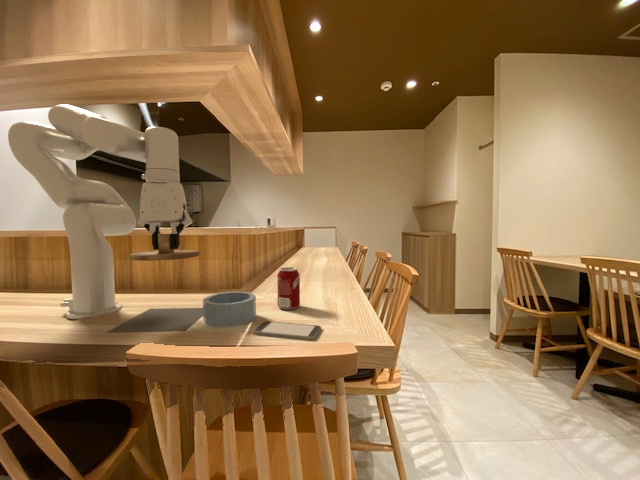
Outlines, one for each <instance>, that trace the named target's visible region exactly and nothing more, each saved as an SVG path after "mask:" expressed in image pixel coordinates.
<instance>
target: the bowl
mask: <svg viewBox="0 0 640 480" xmlns="http://www.w3.org/2000/svg"><path fill="white" fill-rule="evenodd" d="M256 296H257V295H256V294H254V293H252V292H247V291H224V292H218V293H214V294H210V295H207V296H205V297H204V298H203V299H202V308H203V316H202V318H203V323H205V325H207V326H211V327H215V328H217V327H218V328H220V327H223V328H224V327H226V328H227V327H234V326H235V327H236V326H240V325H244V324H246V323H247V324H248V323H249V324H251V323H253V322H255V320H256V318H257V300H256V299H257V297H256Z"/></svg>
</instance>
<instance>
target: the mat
mask: <svg viewBox="0 0 640 480" xmlns="http://www.w3.org/2000/svg"><path fill="white" fill-rule="evenodd" d="M201 318H203V307H173V308H171V307H170V308H164V307H163V308H162V307H161V308H160V307H158V308H149V309H147V310H145V311H143V312H141V313H139V314H137V315H135V316H134V317H132V318H130V319H128V320H126V321H125V322H123V323H120V324H119V325H117V326H115V327H113V328H111V329H110V330H108V331H106V332H105V333H107V334H108V333H109V334H110V333H152V332H154V333H157V332H160V333H161V332H187V330H188V329H190V328H191V327H192V326H193V325H194V324H195V323H196V322H198V321H199V320H200V319H201Z"/></svg>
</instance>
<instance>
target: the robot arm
mask: <svg viewBox="0 0 640 480" xmlns="http://www.w3.org/2000/svg"><path fill="white" fill-rule="evenodd" d="M47 118H48V121H49V123H50V125H47V124H43V123H40V122H33V121H19V122H16V123H14V124H12V125H11V126H10V127H9V129H8V133H7V138H8V145H9V148H10V150H11V153H12V155H13V157H14V158H15V159H16V161H17V162H18V163H19V164H20V165H21V166H22V167H23V168H24V169H25V170H26V171H27V172H28V173H29V174H31V175H32V177H34V178H35V180H36V181H37V183H38V185H40V187H42V189H43V191H44V192H45V193H46V195H48V197H49V198H50V199H51V200H52V201H53V203H54V204H55V205H56V206H58V207H59V208H61V209H64V212H63V215H62V221H63V226H64V229H65V232H66V235H67V241H68V245H69V246H68V247H69V255H70V256H69V257H70V271H71V272H70V274H71V276H70V277H71V291H72V292H71V293H72V298H64V299H63V301H61V303H60V307H63V308H67V307H68V311H66V313H65V318H67V319H71V320H80V319H85V318H93V317H99V316H104V315H107V314H111V313H114V312H117V311H119V310H121V309H122V308H123V304H122V303H120V302H116V291H115V290H116V289H115V286H116V285H115V267H114V251H113V248H112V246H111V244H110V242H109V241H108V240H107V239H106V237H107V236H108V237H111V236H116V237H117V236H125V235H128V234H131V233H132V232H133V231H134V230H135V228H136V224H137V225H140V226H141V227H143V228H145V230H147V232H148V233H149V234H150V235H151V246H152V247H153V248H152V250H153V251H158V234H161V232H160V231H161V224H162V223H170V224H169V225H170V228H171V233H169V234H170V249H171V250H179V248H180V244H181V242H180V241H181V240H180V235H181V233H182V231H184V230H185V228H186V227H188V226H189V225H191V224H192V223H193V219H192V218H191V216H190V214H189V213H188V208H187V200H186V195H185V190H184V186H183V184H182V183H181V177H180V175H181V174H180V154H179V151H180V150H179V149H180V148H179V136H178V134H177V133H176V131H174V130H172V129H171V128H167V127H163V126H162V127H161V126H150V127H147V128H146V129H145V131H144V132H142V131H141V130H138V129H134V128H132V127H130V126H129V127H128V126H126V125H123V124H119V122H118V123H117V122H114V121H112V120H109V118H107V117H105V116H103V115H100V114H97V113H93V112H91V111H88V110H87V109H83V108H80V107H77V106H75V105H74V106H73V105H70V104H56V105H54V106H53V107H51V108H50V109H49V111H48V113H47ZM97 151H101V152H104V153H106V154H110V155H113V156H117V157H121V158H125V159H129V160H134V161H138V162H142V163H145V173H141V176H140V177H141V179H142V180H145V181H146V182H143V183H142V187H141V191H140V200H139V218H138V219H137V218H136V216H135V213H134V211H133V210H132V208H131V207H130V206H129V205H128V204H127V202H126V201H125V200H124V199H123V198H122V196H121V195H120V194H119V193H118V192H117V191H116V189H115V188H114V187H113V186H111V185H109V184H107V183H105V182H103V181H98V180H91V179H85V178H82V177H79V176H77V174H75V172H73V170H72V169H71V168H70V166H68V164H66V163H65V162H63V160H60V159H59V158H61V159H67V160H71V161H81V160H84V159H86V158H88V157H90V156H91V155H92V154H94V153H95V152H97ZM136 219H137V220H136Z"/></svg>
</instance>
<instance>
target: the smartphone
mask: <svg viewBox="0 0 640 480" xmlns="http://www.w3.org/2000/svg"><path fill="white" fill-rule="evenodd" d="M321 331H322V325H317V324H306V323H295V322H283V321H272V320H266V321H263V322H262V323H261V324H259V325H258V326H257V327H256V328H254V329H253V330H252V334H253V335H254V336H264V337H272V338H282V339H292V340H301V341H312V342H313V341H315V340H316V339H317V337H318V335H319V334H320V332H321Z"/></svg>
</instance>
